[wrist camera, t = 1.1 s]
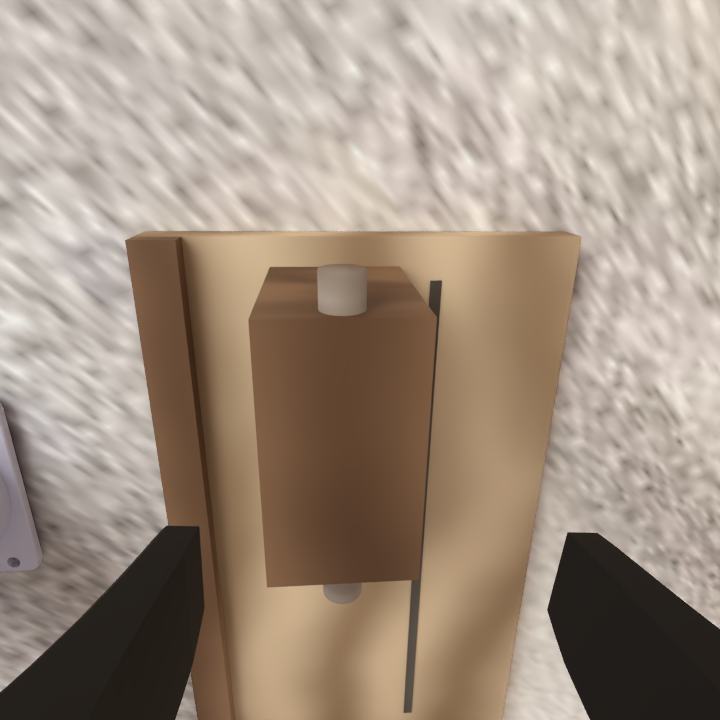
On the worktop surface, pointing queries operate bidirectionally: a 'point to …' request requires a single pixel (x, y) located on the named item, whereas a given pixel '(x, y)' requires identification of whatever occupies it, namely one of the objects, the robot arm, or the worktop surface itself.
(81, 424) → the worktop surface
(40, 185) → the worktop surface
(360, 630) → the board
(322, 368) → the block with white pegs
